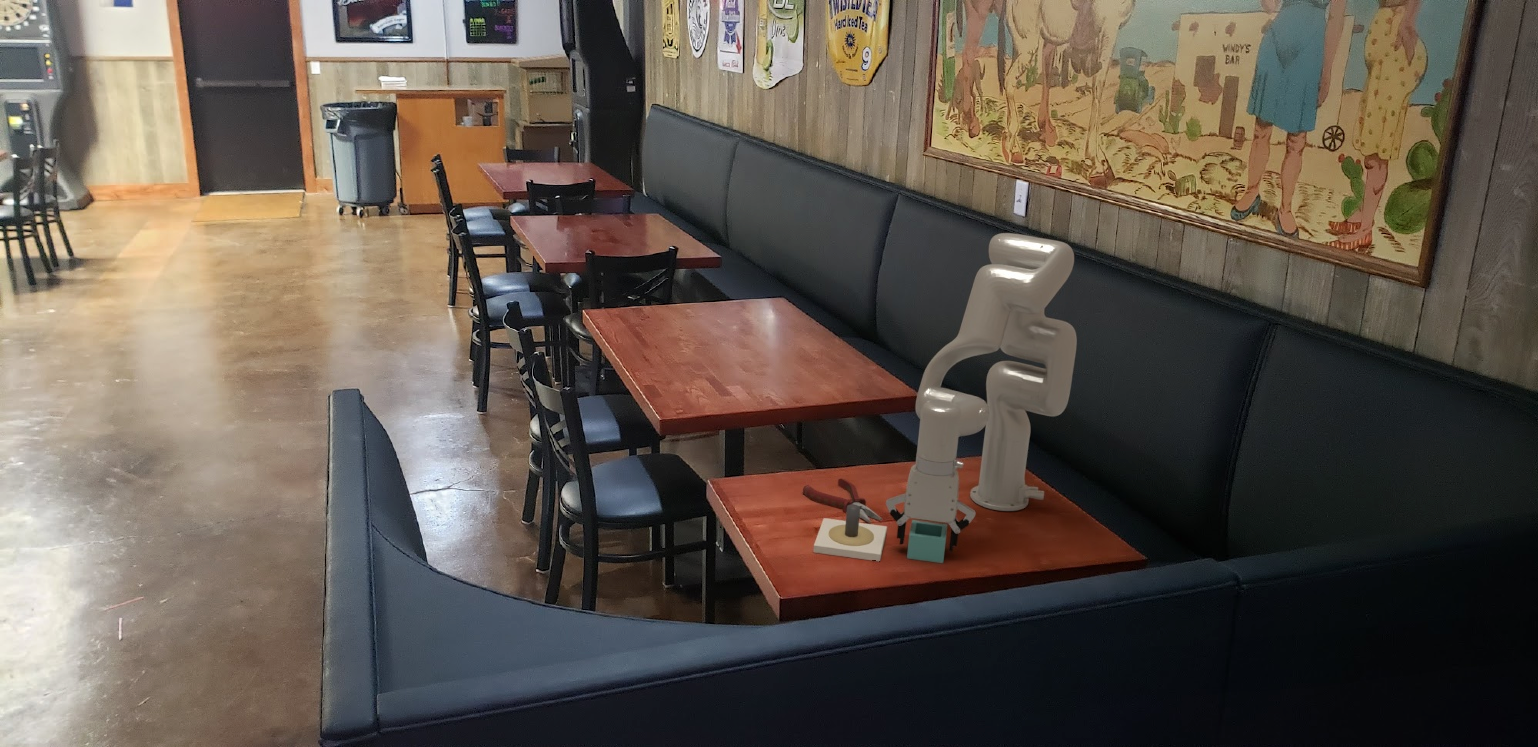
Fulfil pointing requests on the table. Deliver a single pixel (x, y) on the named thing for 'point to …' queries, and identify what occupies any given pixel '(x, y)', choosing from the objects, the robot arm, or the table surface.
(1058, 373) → the robot arm
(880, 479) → the table surface
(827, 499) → the pliers
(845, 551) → the post stand
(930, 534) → the collar
